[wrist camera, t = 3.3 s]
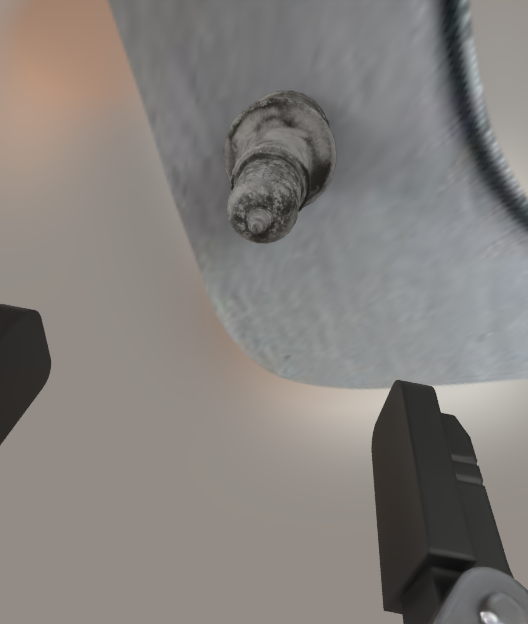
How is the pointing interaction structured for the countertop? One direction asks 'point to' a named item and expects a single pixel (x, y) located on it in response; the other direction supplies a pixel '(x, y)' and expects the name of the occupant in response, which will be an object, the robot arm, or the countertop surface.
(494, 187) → the countertop surface
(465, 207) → the countertop surface
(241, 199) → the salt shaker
